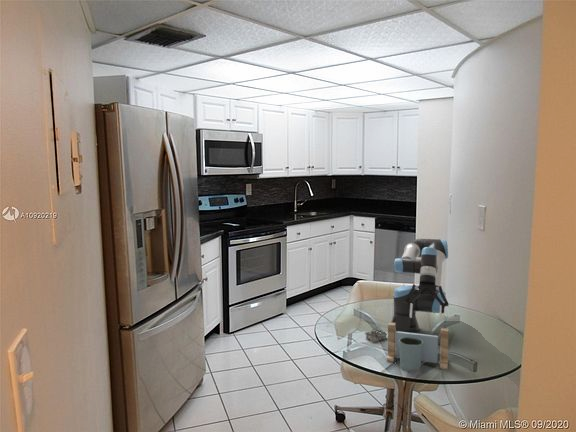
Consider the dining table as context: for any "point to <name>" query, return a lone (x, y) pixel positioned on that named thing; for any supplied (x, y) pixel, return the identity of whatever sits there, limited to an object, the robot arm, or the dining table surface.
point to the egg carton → (375, 335)
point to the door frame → (393, 345)
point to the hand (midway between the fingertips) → (425, 318)
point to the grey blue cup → (410, 353)
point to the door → (428, 348)
